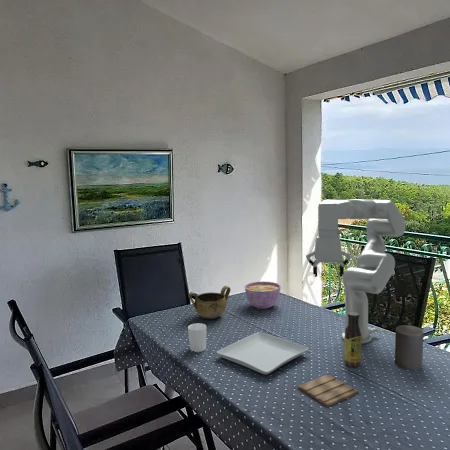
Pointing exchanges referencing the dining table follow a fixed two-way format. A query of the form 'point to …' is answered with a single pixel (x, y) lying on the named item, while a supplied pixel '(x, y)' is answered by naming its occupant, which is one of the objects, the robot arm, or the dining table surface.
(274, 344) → the square plate
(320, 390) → the trivet
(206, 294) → the ceramic bowl
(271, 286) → the bowl of food
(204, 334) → the white cup
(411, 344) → the pillar candle
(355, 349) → the sauce bottle
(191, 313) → the dining table surface
